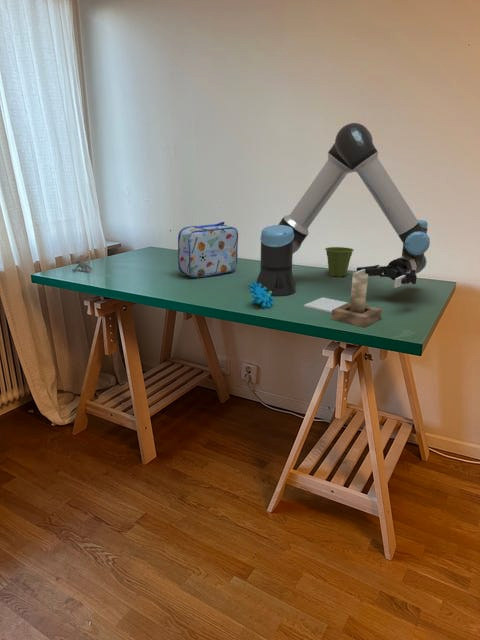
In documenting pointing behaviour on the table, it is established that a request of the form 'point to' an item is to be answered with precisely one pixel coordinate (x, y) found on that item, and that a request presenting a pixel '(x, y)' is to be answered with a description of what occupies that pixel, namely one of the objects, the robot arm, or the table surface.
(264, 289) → the gear
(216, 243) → the lunch box
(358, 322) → the pocket block
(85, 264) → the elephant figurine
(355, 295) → the dowel
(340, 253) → the plant pot
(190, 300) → the table surface
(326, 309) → the pad
